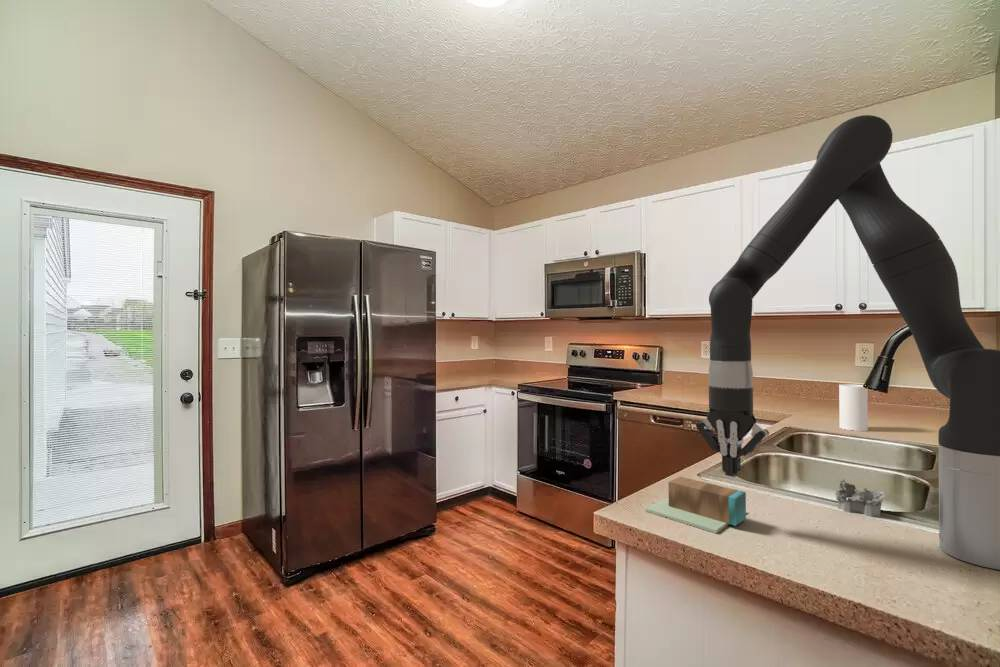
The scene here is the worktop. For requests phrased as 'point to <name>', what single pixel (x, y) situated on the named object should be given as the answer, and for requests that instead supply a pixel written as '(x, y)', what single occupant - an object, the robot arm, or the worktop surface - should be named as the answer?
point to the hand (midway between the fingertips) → (731, 475)
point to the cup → (853, 407)
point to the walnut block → (708, 500)
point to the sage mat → (685, 516)
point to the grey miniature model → (859, 499)
